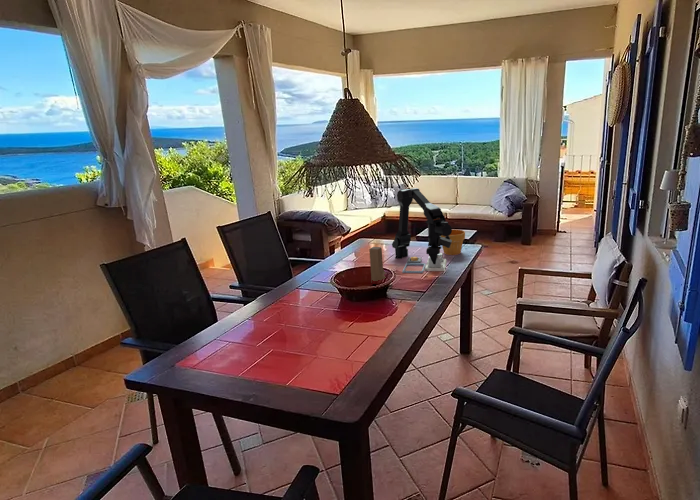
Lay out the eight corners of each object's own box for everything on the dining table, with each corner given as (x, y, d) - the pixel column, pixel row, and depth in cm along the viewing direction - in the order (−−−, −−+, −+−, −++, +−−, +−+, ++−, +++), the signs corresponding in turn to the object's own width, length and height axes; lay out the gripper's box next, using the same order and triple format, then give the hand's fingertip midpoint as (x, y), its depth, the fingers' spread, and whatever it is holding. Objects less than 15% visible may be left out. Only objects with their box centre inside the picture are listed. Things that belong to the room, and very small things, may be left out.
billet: (428, 267, 217) (428, 258, 215) (429, 265, 220) (429, 256, 219) (440, 267, 215) (440, 258, 214) (441, 265, 219) (441, 256, 217)
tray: (402, 274, 216) (402, 271, 215) (406, 266, 228) (406, 263, 227) (422, 274, 213) (422, 271, 212) (425, 266, 225) (425, 263, 225)
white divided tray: (424, 272, 216) (424, 268, 216) (428, 262, 232) (427, 258, 231) (444, 272, 213) (444, 268, 213) (446, 262, 229) (446, 258, 228)
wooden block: (392, 284, 204) (390, 247, 199) (388, 287, 200) (386, 250, 195) (375, 282, 208) (373, 246, 204) (371, 285, 205) (368, 248, 200)
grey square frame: (407, 265, 229) (406, 261, 229) (408, 261, 236) (408, 257, 235) (420, 265, 227) (420, 261, 227) (421, 261, 234) (421, 257, 233)
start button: (410, 263, 230) (410, 258, 229) (411, 261, 233) (411, 256, 233) (417, 263, 229) (417, 258, 228) (418, 261, 232) (417, 256, 232)
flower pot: (459, 259, 233) (458, 236, 230) (435, 256, 242) (434, 234, 238) (469, 252, 244) (469, 230, 240) (446, 250, 252) (445, 228, 249)
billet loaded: (430, 263, 226) (430, 254, 224) (431, 261, 229) (431, 252, 228) (442, 264, 224) (442, 254, 223) (442, 261, 228) (442, 252, 226)
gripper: (449, 237, 202) (450, 268, 206) (451, 228, 219) (452, 257, 224) (425, 237, 205) (426, 268, 209) (429, 228, 223) (430, 257, 227)
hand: (434, 262), depth 217 cm, fingers closed on billet, 4 cm apart
